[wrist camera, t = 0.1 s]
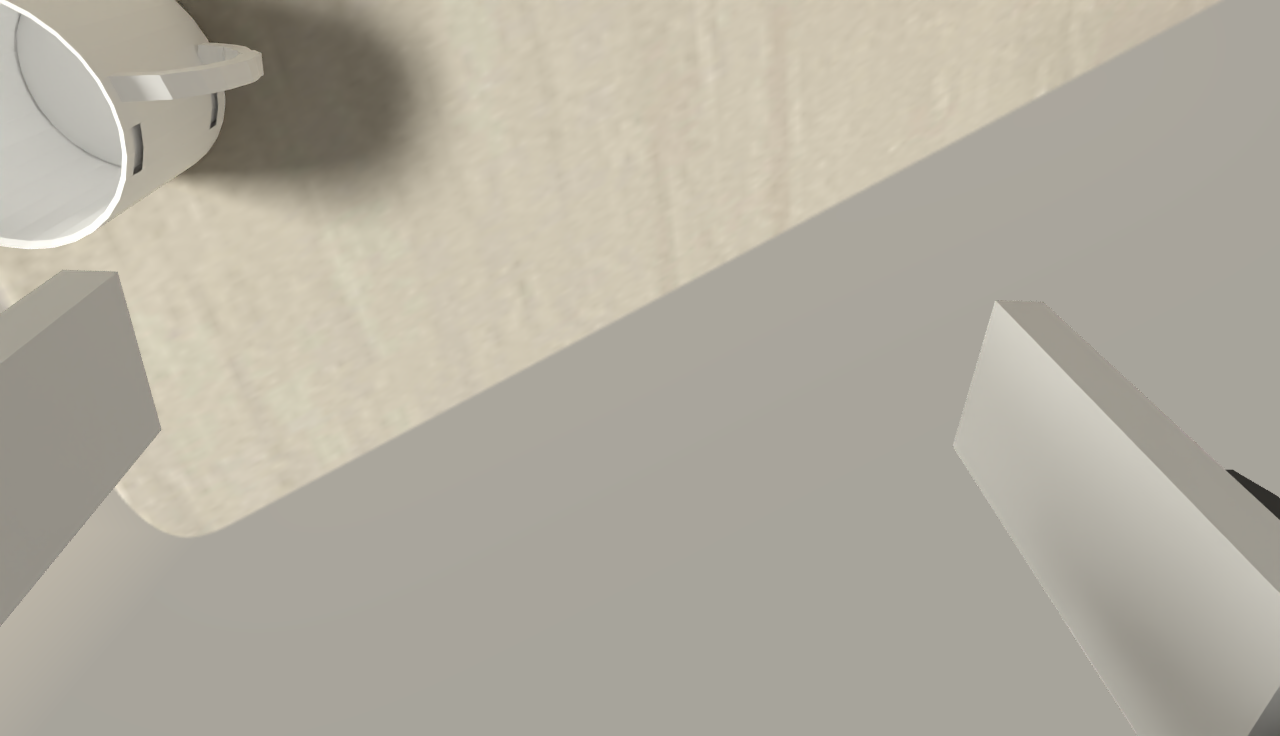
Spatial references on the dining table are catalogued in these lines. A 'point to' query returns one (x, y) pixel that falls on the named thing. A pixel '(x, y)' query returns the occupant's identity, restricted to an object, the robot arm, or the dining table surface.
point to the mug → (102, 109)
